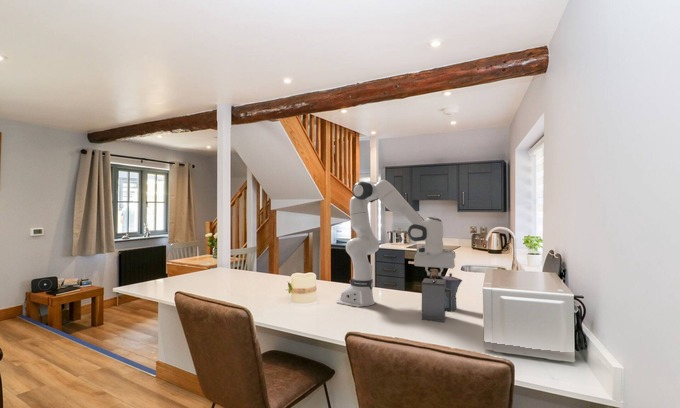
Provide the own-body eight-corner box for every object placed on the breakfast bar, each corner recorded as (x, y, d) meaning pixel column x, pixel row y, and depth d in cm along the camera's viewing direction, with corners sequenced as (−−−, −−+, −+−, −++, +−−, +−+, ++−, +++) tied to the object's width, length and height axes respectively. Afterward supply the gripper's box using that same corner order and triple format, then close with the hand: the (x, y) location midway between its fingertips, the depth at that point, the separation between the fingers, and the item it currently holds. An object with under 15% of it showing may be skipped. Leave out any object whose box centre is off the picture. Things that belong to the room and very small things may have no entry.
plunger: (425, 315, 179) (425, 270, 179) (426, 311, 186) (427, 267, 186) (440, 317, 176) (441, 271, 176) (441, 313, 184) (442, 268, 184)
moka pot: (463, 312, 192) (463, 275, 192) (434, 310, 195) (434, 274, 195) (460, 307, 201) (461, 272, 201) (433, 305, 204) (433, 271, 204)
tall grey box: (421, 320, 178) (421, 282, 178) (423, 313, 188) (424, 278, 188) (450, 323, 173) (451, 284, 173) (451, 316, 183) (451, 280, 184)
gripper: (455, 249, 181) (455, 276, 181) (415, 247, 188) (415, 273, 188) (455, 250, 175) (455, 278, 175) (413, 248, 182) (413, 275, 182)
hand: (434, 275), depth 181 cm, fingers closed on plunger, 4 cm apart
